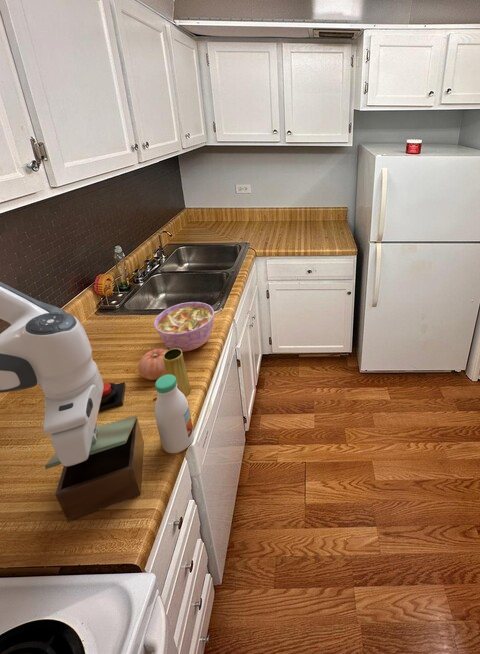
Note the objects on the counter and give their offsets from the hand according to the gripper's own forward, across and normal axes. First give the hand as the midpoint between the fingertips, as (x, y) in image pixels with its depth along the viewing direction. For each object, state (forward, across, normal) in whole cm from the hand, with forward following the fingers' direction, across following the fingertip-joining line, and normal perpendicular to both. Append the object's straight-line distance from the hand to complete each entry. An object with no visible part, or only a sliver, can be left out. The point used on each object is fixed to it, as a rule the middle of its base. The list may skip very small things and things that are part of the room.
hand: (93, 438), depth 70 cm
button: (+12, -27, -4) cm, 30 cm away
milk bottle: (+15, -5, +15) cm, 22 cm away
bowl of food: (+15, -45, +20) cm, 52 cm away
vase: (+15, -22, +16) cm, 31 cm away
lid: (+2, -2, 0) cm, 3 cm away
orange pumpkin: (+15, -33, +10) cm, 38 cm away
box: (+15, -1, 0) cm, 15 cm away
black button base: (+15, -27, -4) cm, 31 cm away
